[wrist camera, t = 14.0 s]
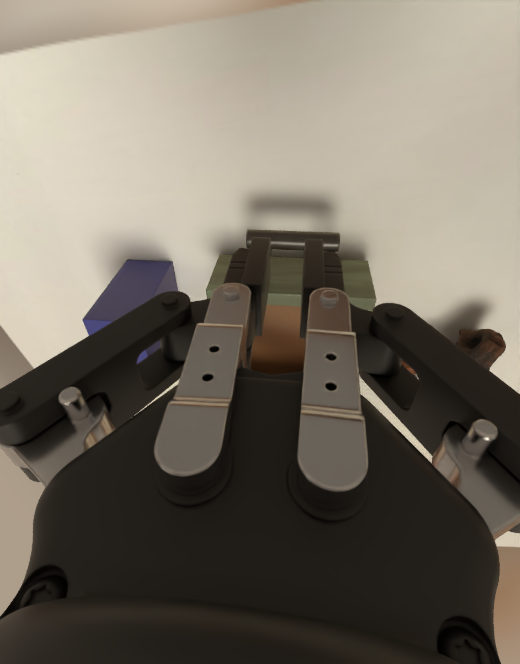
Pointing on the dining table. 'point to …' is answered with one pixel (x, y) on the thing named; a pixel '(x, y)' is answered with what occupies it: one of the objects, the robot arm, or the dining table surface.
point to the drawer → (293, 297)
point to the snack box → (131, 294)
